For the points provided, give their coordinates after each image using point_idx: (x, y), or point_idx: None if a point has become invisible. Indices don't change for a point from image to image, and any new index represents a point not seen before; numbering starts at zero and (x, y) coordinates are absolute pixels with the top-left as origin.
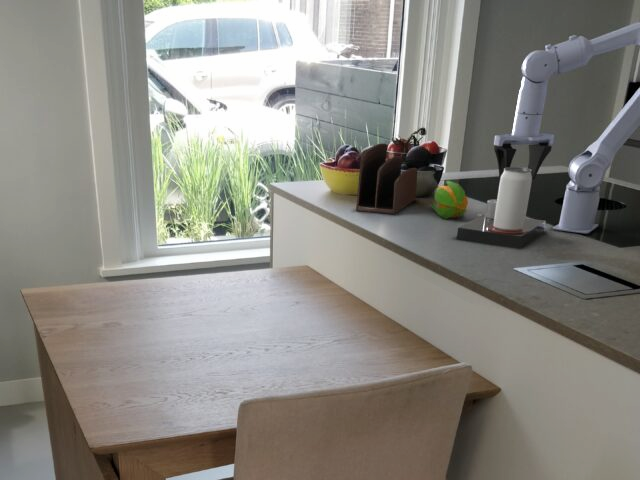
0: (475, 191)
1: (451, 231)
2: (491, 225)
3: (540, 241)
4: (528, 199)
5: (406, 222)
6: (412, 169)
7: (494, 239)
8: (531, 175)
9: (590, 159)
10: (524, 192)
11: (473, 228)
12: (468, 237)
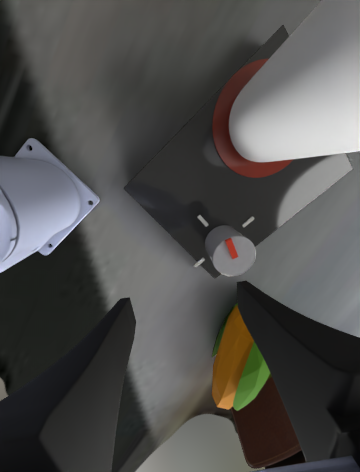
0: (115, 439)
1: (298, 229)
2: (282, 160)
3: (177, 105)
4: (286, 40)
5: (324, 296)
6: (278, 457)
7: None
8: (129, 312)
9: None
10: None
11: None
12: None
